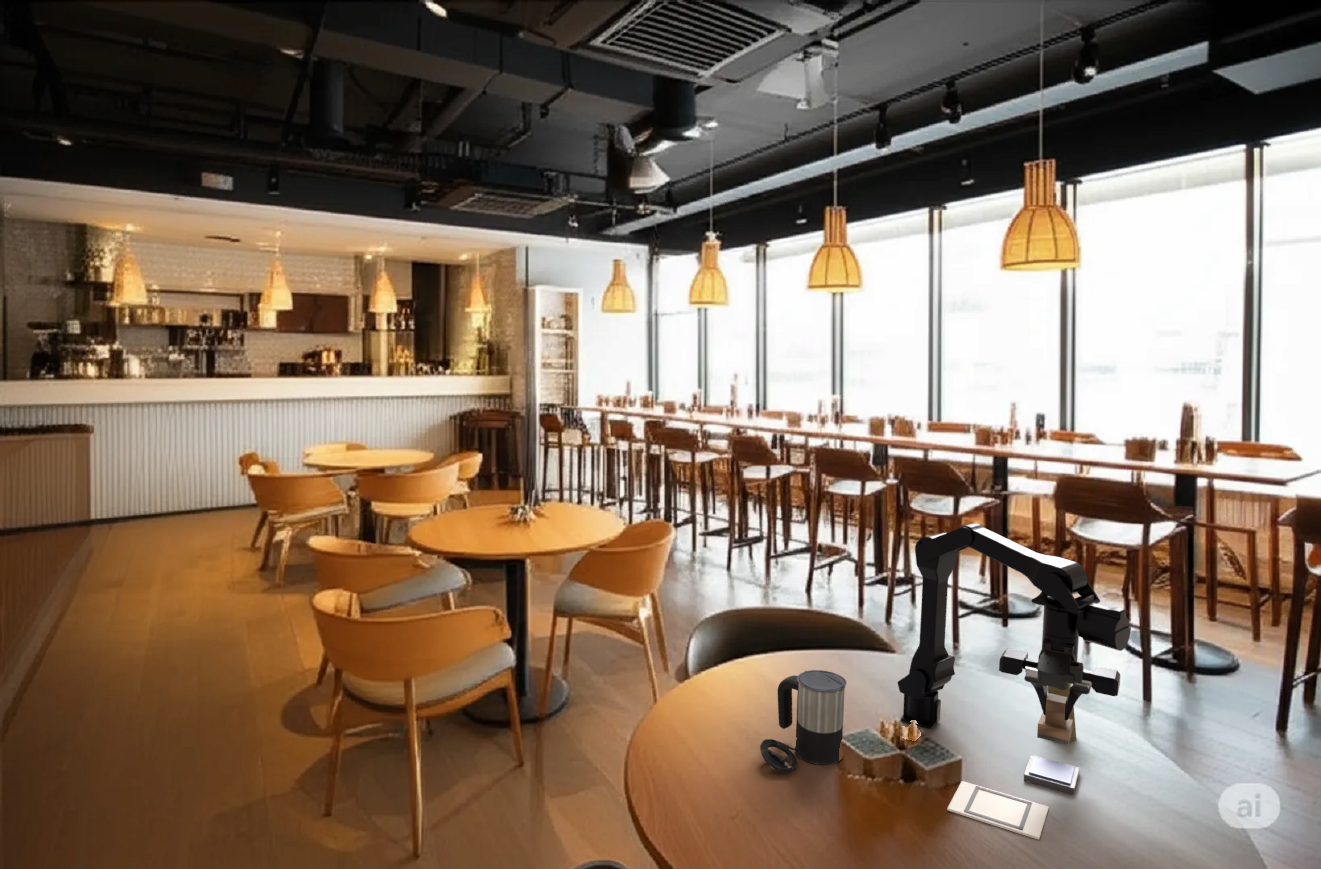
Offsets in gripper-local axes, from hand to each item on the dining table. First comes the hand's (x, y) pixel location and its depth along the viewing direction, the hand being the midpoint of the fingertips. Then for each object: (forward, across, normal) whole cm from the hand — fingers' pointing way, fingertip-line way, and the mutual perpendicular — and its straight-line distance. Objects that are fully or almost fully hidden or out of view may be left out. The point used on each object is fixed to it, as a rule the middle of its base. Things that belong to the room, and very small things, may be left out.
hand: (1055, 716), depth 139 cm
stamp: (+4, 0, 0) cm, 4 cm away
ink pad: (+12, 0, 0) cm, 12 cm away
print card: (+12, -6, -16) cm, 21 cm away
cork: (+12, -1, +18) cm, 22 cm away
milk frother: (+12, -40, -19) cm, 46 cm away
